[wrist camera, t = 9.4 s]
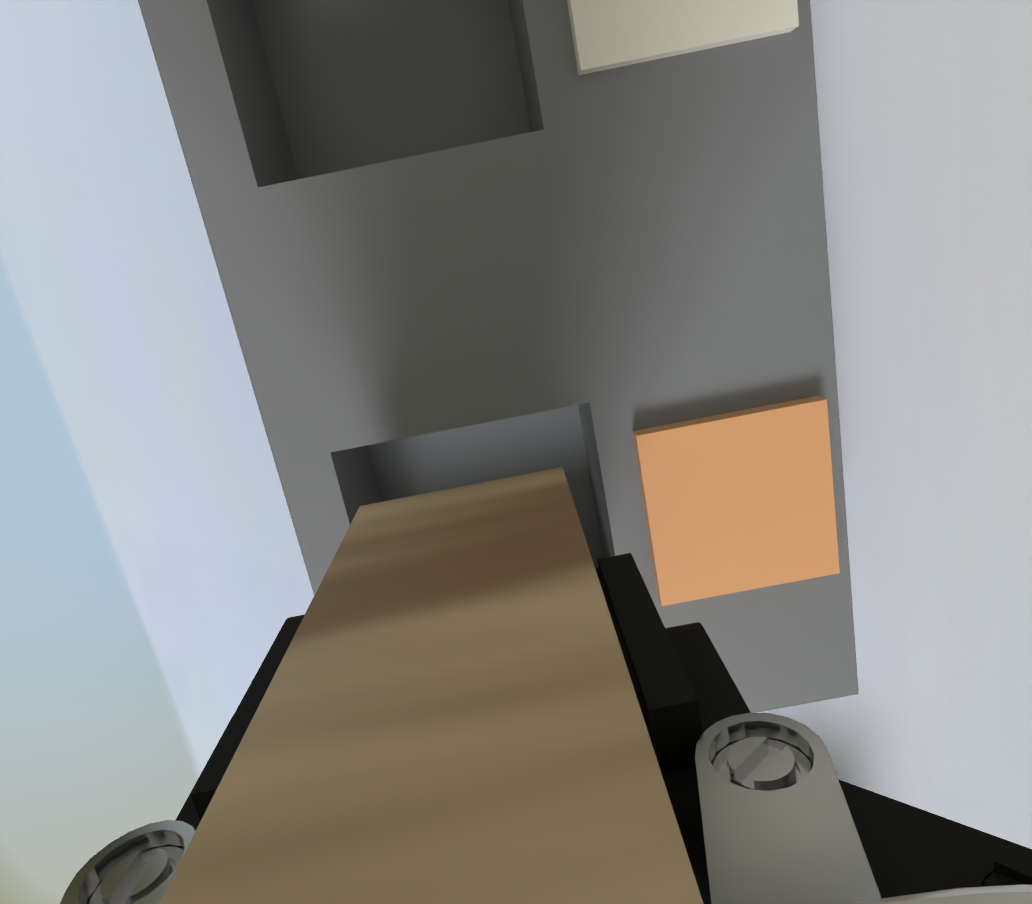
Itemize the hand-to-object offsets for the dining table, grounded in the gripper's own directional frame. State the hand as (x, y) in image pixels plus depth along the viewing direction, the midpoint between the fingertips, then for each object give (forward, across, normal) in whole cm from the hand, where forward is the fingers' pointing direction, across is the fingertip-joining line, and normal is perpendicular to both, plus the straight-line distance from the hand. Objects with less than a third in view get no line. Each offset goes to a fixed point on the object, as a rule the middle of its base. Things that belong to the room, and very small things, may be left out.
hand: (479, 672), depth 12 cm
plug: (+3, 0, 0) cm, 3 cm away
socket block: (+9, -2, -6) cm, 11 cm away
